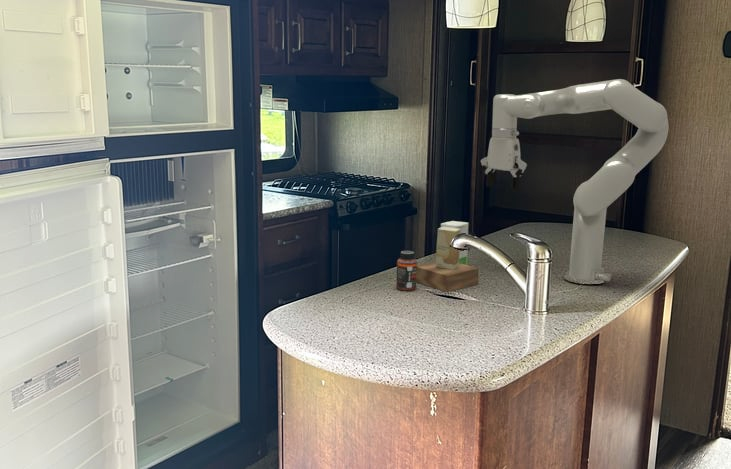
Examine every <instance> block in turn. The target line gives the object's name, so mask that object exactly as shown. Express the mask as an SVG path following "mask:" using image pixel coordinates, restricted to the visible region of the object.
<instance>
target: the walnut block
mask: <svg viewBox="0 0 731 469" xmlns="http://www.w3.org/2000/svg"><path fill="white" fill-rule="evenodd" d="M435 265H436V260H435V261H430V262H427V263H423V264H417V275H416V284H420V285H423V286H426V287H429V288H432V289H436V290H438V291H441V292H445V293H448V292H453V291H456V290H460V289H465V288H467V287H471V286H476V285H479V267H475V266H472V265H468V264H467V265H465V264H461V263H459V265H458V267H457V268H456V269H454V270H451V269H446V268H440V267H435Z"/></svg>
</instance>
